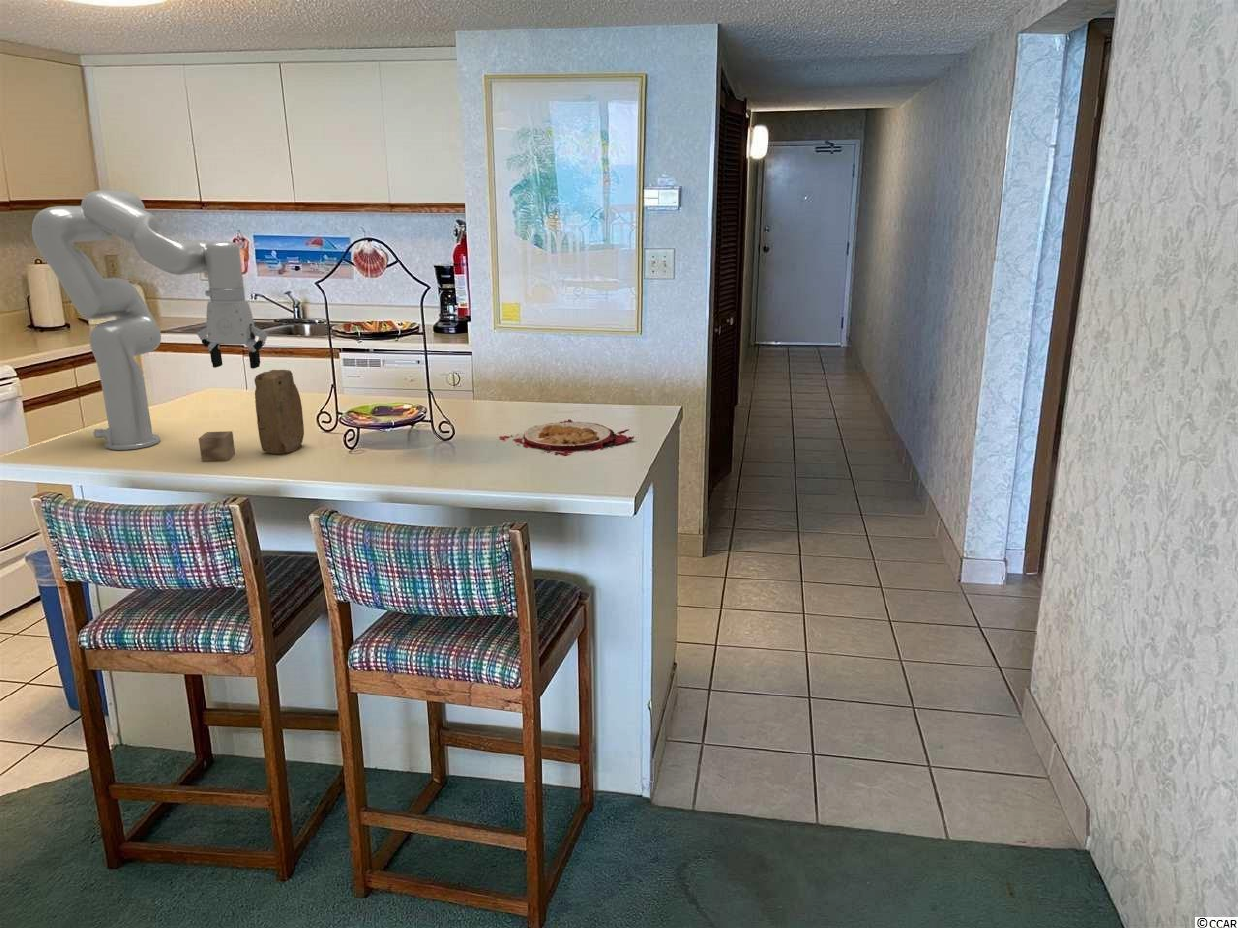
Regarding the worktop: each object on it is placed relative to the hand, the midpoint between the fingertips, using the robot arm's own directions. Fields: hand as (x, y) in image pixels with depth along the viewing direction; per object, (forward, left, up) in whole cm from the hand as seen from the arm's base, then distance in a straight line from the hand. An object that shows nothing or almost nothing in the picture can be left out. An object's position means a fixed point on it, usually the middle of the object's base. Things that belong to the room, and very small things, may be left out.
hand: (236, 367), depth 214 cm
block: (+9, +2, -22) cm, 23 cm away
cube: (-5, -4, -22) cm, 23 cm away
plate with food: (+80, +3, -22) cm, 83 cm away
